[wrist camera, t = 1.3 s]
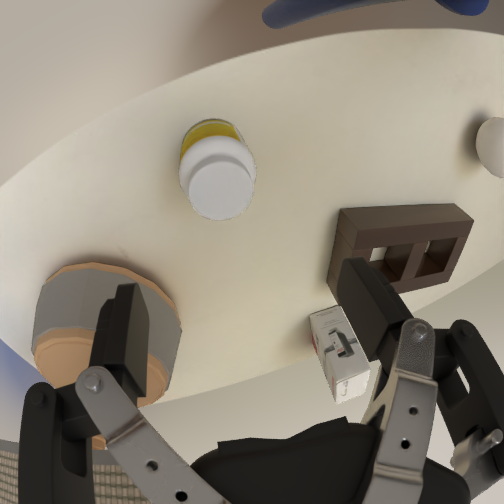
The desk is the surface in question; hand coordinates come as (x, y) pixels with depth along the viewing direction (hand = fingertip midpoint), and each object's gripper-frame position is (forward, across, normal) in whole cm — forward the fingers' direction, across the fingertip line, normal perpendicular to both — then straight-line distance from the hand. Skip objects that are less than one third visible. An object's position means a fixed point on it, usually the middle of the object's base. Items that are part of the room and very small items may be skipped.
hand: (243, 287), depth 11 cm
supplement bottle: (+18, 0, 0) cm, 18 cm away
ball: (+18, -35, -3) cm, 39 cm away
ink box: (+18, -15, +28) cm, 36 cm away
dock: (+18, -23, +13) cm, 32 cm away
